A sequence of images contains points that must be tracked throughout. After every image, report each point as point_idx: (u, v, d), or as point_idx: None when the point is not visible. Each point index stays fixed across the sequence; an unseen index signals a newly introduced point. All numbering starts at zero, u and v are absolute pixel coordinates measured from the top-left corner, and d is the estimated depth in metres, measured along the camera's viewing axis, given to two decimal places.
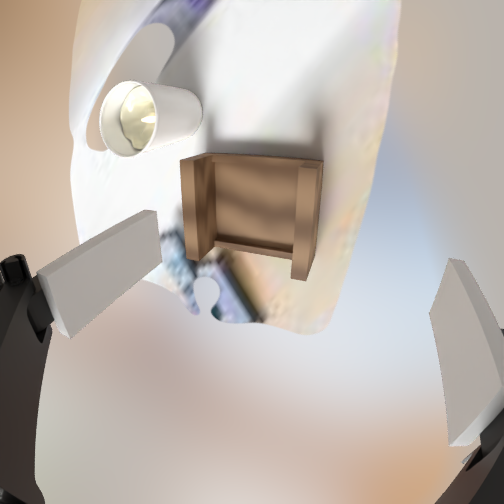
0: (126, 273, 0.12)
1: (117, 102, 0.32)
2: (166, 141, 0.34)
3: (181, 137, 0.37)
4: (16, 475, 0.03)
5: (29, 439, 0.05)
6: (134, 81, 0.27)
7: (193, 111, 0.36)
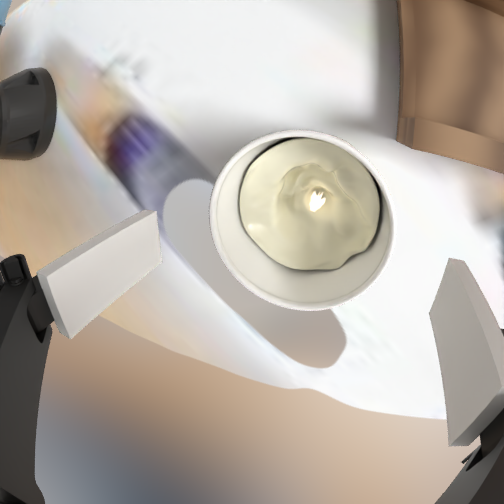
0: (126, 273, 0.12)
1: (261, 264, 0.19)
2: None
3: None
4: (16, 475, 0.03)
5: (29, 439, 0.05)
6: (214, 189, 0.15)
7: None
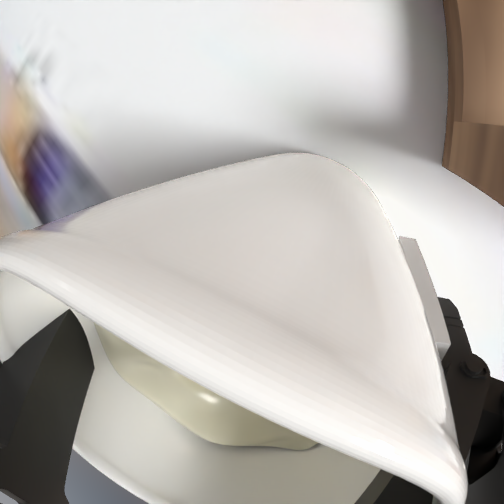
0: None
1: (156, 432, 0.08)
2: (411, 277, 0.05)
3: (388, 220, 0.08)
4: (44, 488, 0.03)
5: (65, 449, 0.05)
6: None
7: (285, 155, 0.09)
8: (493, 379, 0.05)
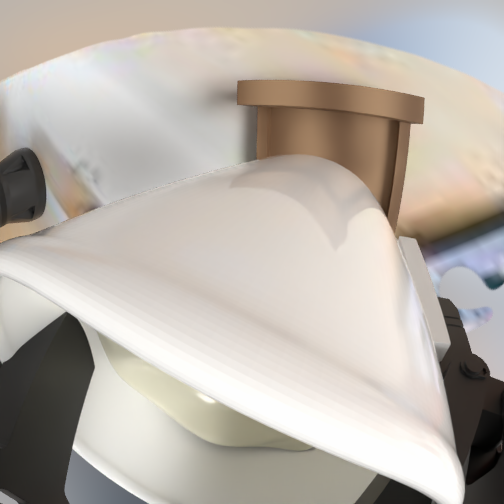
0: None
1: (156, 433, 0.08)
2: (411, 280, 0.05)
3: (387, 221, 0.08)
4: (44, 488, 0.03)
5: (65, 449, 0.05)
6: None
7: (285, 156, 0.09)
8: (493, 379, 0.05)
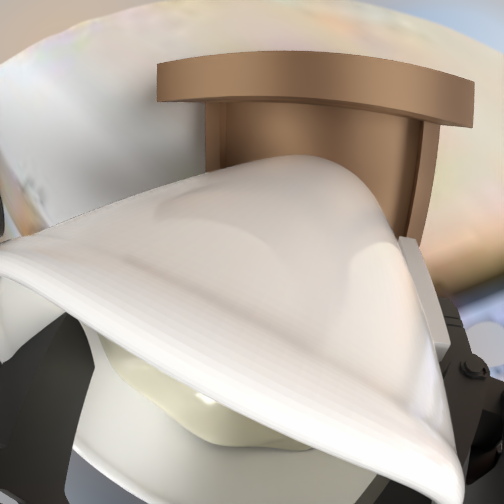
0: None
1: (156, 433, 0.08)
2: (411, 280, 0.05)
3: (387, 222, 0.08)
4: (44, 488, 0.03)
5: (65, 449, 0.05)
6: None
7: (285, 156, 0.09)
8: (493, 379, 0.05)
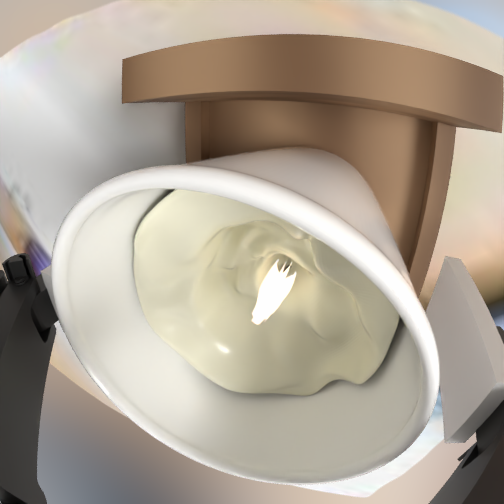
0: None
1: (180, 382, 0.10)
2: (389, 230, 0.07)
3: (376, 198, 0.10)
4: (18, 476, 0.03)
5: (32, 439, 0.05)
6: (54, 291, 0.06)
7: None
8: None
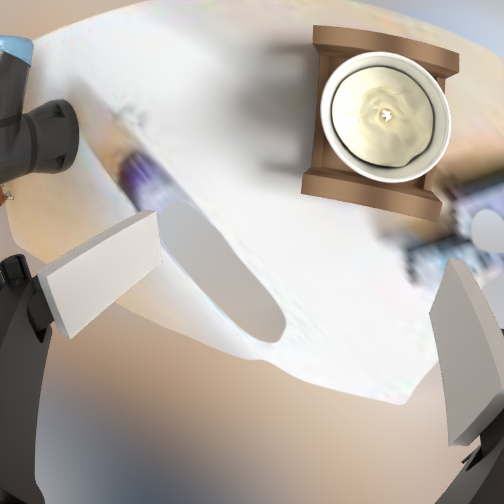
0: (126, 273, 0.12)
1: (348, 155, 0.22)
2: None
3: None
4: (16, 475, 0.03)
5: (29, 439, 0.05)
6: (327, 83, 0.18)
7: None
8: None
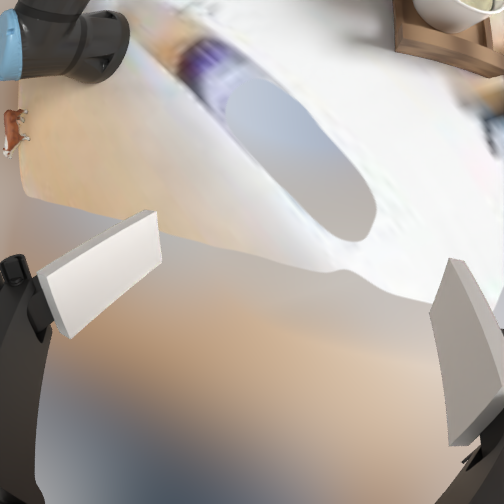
0: (126, 273, 0.12)
1: None
2: None
3: None
4: (16, 475, 0.03)
5: (29, 439, 0.05)
6: None
7: None
8: None
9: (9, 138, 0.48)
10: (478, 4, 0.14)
